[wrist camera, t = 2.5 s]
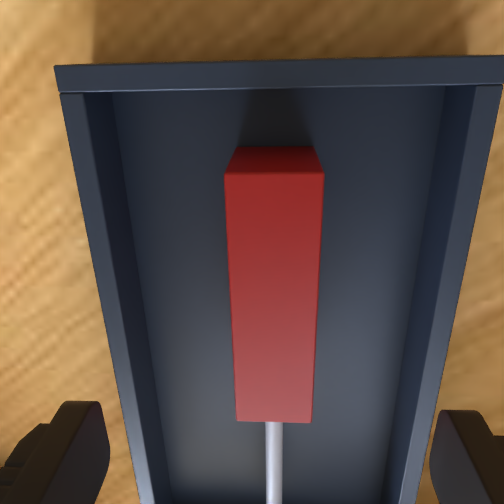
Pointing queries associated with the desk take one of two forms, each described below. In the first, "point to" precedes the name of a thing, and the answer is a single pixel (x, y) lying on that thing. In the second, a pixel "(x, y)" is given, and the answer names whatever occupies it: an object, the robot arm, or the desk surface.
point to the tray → (331, 259)
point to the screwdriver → (274, 288)
